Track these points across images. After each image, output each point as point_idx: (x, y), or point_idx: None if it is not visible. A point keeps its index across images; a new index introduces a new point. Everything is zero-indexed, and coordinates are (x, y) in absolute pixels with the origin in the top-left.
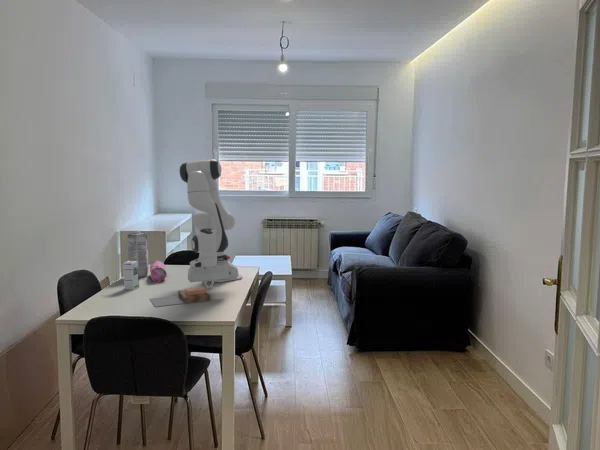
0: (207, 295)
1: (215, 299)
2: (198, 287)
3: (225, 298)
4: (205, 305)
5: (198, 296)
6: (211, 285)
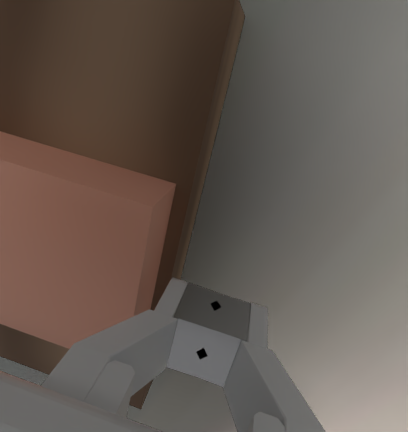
0: None
1: None
2: (58, 203)
3: None
4: None
5: (31, 362)
6: (230, 395)
